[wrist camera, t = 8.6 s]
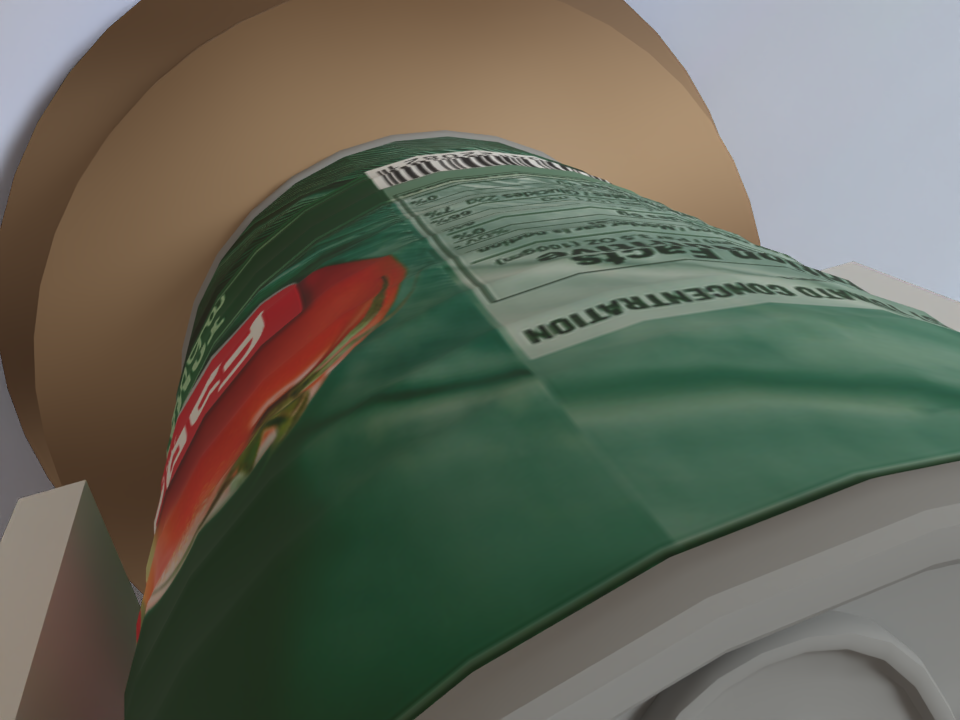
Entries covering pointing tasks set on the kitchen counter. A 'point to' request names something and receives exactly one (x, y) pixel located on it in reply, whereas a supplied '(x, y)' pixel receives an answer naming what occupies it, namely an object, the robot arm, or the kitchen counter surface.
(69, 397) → the pedestal
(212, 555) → the canned tomato
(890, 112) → the kitchen counter surface
